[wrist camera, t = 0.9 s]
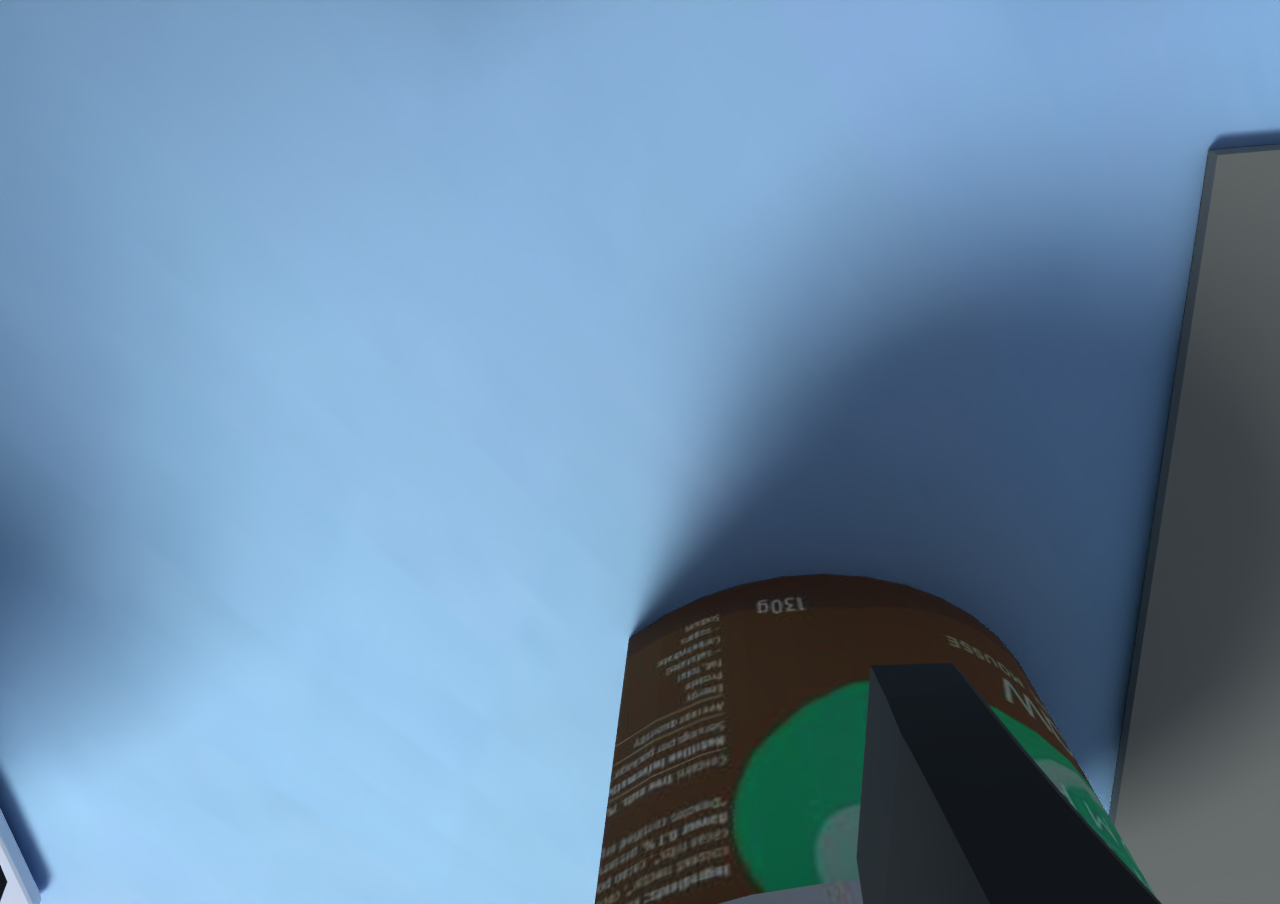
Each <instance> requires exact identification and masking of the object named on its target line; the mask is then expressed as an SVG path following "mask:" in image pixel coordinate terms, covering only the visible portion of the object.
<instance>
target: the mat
mask: <svg viewBox="0 0 1280 904" xmlns="http://www.w3.org/2000/svg"><path fill="white" fill-rule="evenodd" d="M1109 818H1110V820H1111V821H1112V823H1113V825H1114V826H1115V828H1116V830H1117V832H1118V833H1119V835H1120V837H1121V838H1122V840H1123V842H1124V844H1125V845H1126V847H1127V849H1128V850H1129V852H1130V854H1131V855H1132V857H1133V859H1134V861H1135V862H1136V864H1137V866H1138V867H1139V869H1140V871H1141V873H1142V874H1143V876H1144V878H1145V879H1146V881H1147V883H1148V884H1149V886H1150V888H1151V890H1152V891H1153V893H1154V895H1155V896H1156V898H1157V899H1158V900H1159V901H1160V902H1161V903H1162V904H1280V144H1273V145H1261V146H1249V147H1237V148H1225V149H1213V150H1209V151H1208V158H1207V165H1206V171H1205V178H1204V185H1203V191H1202V198H1201V205H1200V211H1199V218H1198V225H1197V232H1196V238H1195V245H1194V252H1193V258H1192V265H1191V272H1190V278H1189V285H1188V292H1187V298H1186V305H1185V312H1184V318H1183V325H1182V332H1181V338H1180V345H1179V352H1178V358H1177V365H1176V372H1175V378H1174V385H1173V392H1172V398H1171V405H1170V412H1169V419H1168V425H1167V432H1166V439H1165V445H1164V452H1163V459H1162V465H1161V472H1160V479H1159V485H1158V492H1157V499H1156V505H1155V512H1154V519H1153V525H1152V532H1151V539H1150V545H1149V552H1148V559H1147V565H1146V572H1145V579H1144V586H1143V592H1142V599H1141V606H1140V612H1139V619H1138V626H1137V632H1136V639H1135V646H1134V652H1133V659H1132V666H1131V672H1130V679H1129V686H1128V692H1127V699H1126V706H1125V712H1124V719H1123V726H1122V732H1121V739H1120V746H1119V753H1118V759H1117V766H1116V773H1115V779H1114V786H1113V793H1112V799H1111V806H1110V813H1109Z"/></svg>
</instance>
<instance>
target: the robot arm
mask: <svg viewBox="0 0 1280 904" xmlns="http://www.w3.org/2000/svg"><path fill="white" fill-rule="evenodd" d="M856 859H857V865H858V872H859V879H860V886H861V893H862V899H863V904H1162V903H1161V902H1160V901H1159V900H1158V899H1157V898H1156V897H1155V896H1154V895H1153V894H1152V893H1151V891H1150V890H1149V889H1148V888H1147V887H1146V886H1145V885H1144V884H1143V883H1142V882H1141V881H1140V879H1139V878H1138V877H1137V876H1136V875H1135V874H1134V873H1133V872H1132V871H1131V870H1130V869H1129V867H1128V866H1127V865H1126V864H1125V863H1124V862H1123V861H1122V860H1121V859H1120V858H1119V857H1118V855H1117V854H1116V853H1115V852H1114V851H1113V850H1112V849H1111V848H1110V847H1109V846H1108V845H1107V844H1106V842H1105V841H1104V840H1103V839H1102V838H1101V837H1100V836H1099V835H1098V834H1097V833H1096V832H1095V830H1094V829H1093V828H1092V827H1091V826H1090V825H1089V824H1088V823H1087V821H1086V820H1085V819H1084V818H1083V817H1082V816H1081V815H1080V813H1079V812H1078V811H1077V810H1076V809H1075V808H1074V807H1073V806H1072V804H1071V803H1070V802H1069V801H1068V800H1067V799H1066V798H1065V796H1064V795H1063V794H1062V793H1061V792H1060V791H1059V789H1058V788H1057V787H1056V786H1055V785H1054V783H1053V782H1052V781H1051V780H1050V779H1049V778H1048V776H1047V775H1046V774H1045V773H1044V772H1043V771H1042V769H1041V768H1040V767H1039V766H1038V765H1037V763H1036V762H1035V761H1034V760H1033V759H1032V758H1031V756H1030V755H1029V754H1028V753H1027V752H1026V750H1025V749H1024V748H1023V747H1022V746H1021V744H1020V743H1019V742H1018V741H1017V739H1016V738H1015V737H1014V736H1013V735H1012V733H1011V732H1010V731H1009V730H1008V729H1007V727H1006V726H1005V725H1004V724H1003V722H1002V721H1001V720H1000V719H999V717H998V716H997V715H996V714H995V713H994V711H993V710H992V709H991V708H990V706H989V705H988V704H987V703H986V701H985V700H984V699H983V698H982V696H981V695H980V694H979V693H978V691H977V690H976V689H975V688H974V686H973V685H972V684H971V683H970V681H969V680H968V679H967V678H966V676H965V675H964V674H963V673H962V672H961V671H960V670H959V669H958V668H956V667H955V666H954V665H953V664H952V663H935V664H902V665H871V667H870V681H869V694H868V708H867V722H866V735H865V749H864V762H863V776H862V790H861V803H860V817H859V830H858V844H857V857H856ZM40 901H41V896H40V892H39V890H38V888H37V886H36V883H35V881H34V879H33V877H32V875H31V873H30V871H29V869H28V866H27V864H26V862H25V860H24V858H23V856H22V854H21V852H20V849H19V847H18V845H17V843H16V841H15V839H14V837H13V834H12V832H11V830H10V828H9V826H8V824H7V822H6V820H5V817H4V815H3V813H2V811H1V809H0V904H39V903H40Z"/></svg>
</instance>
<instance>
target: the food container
mask: <svg viewBox="0 0 1280 904" xmlns="http://www.w3.org/2000/svg"><path fill="white" fill-rule="evenodd" d="M935 663H952V664H953V665H954V666H955V667H956V668H958V669H959V670H960V671H961V672H962V673H963V674H964V675H965V676H966V678H967V679H968V680H969V681H970V683H971V684H972V685H973V686H974V688H975V689H976V690H977V691H978V693H979V694H980V695H981V696H982V698H983V699H984V700H985V701H986V703H987V704H988V705H989V706H990V708H991V709H992V710H993V711H994V713H995V714H996V715H997V716H998V717H999V719H1000V720H1001V721H1002V722H1003V724H1004V725H1005V726H1006V727H1007V729H1008V730H1009V731H1010V732H1011V733H1012V735H1013V736H1014V737H1015V738H1016V739H1017V741H1018V742H1019V743H1020V744H1021V746H1022V747H1023V748H1024V749H1025V750H1026V752H1027V753H1028V754H1029V755H1030V756H1031V758H1032V759H1033V760H1034V761H1035V762H1036V763H1037V765H1038V766H1039V767H1040V768H1041V769H1042V771H1043V772H1044V773H1045V774H1046V775H1047V776H1048V778H1049V779H1050V780H1051V781H1052V782H1053V783H1054V785H1055V786H1056V787H1057V788H1058V789H1059V791H1060V792H1061V793H1062V794H1063V795H1064V796H1065V798H1066V799H1067V800H1068V801H1069V802H1070V803H1071V804H1072V806H1073V807H1074V808H1075V809H1076V810H1077V811H1078V812H1079V813H1080V815H1081V816H1082V817H1083V818H1084V819H1085V820H1086V821H1087V823H1088V824H1089V825H1090V826H1091V827H1092V828H1093V829H1094V830H1095V832H1096V833H1097V834H1098V835H1099V836H1100V837H1101V838H1102V839H1103V840H1104V841H1105V842H1106V844H1107V845H1108V846H1109V847H1110V848H1111V849H1112V850H1113V851H1114V852H1115V853H1116V854H1117V855H1118V857H1119V858H1120V859H1121V860H1122V861H1123V862H1124V863H1125V864H1126V865H1127V866H1128V867H1129V869H1130V870H1131V871H1132V872H1133V873H1134V874H1135V875H1136V876H1137V877H1138V878H1139V879H1140V881H1141V882H1142V883H1143V884H1144V885H1145V886H1146V887H1147V888H1148V889H1149V890H1150V891H1151V893H1152V894H1153V895H1154V893H1153V891H1152V890H1151V888H1150V886H1149V884H1148V883H1147V881H1146V879H1145V878H1144V876H1143V874H1142V873H1141V871H1140V869H1139V867H1138V866H1137V864H1136V862H1135V861H1134V859H1133V857H1132V855H1131V854H1130V852H1129V850H1128V849H1127V847H1126V845H1125V844H1124V842H1123V840H1122V838H1121V837H1120V835H1119V833H1118V832H1117V830H1116V828H1115V826H1114V825H1113V823H1112V821H1111V820H1110V818H1109V816H1108V815H1107V813H1106V811H1105V809H1104V808H1103V806H1102V804H1101V803H1100V801H1099V799H1098V797H1097V796H1096V794H1095V792H1094V791H1093V789H1092V787H1091V785H1090V784H1089V782H1088V780H1087V779H1086V777H1085V775H1084V774H1083V772H1082V770H1081V768H1080V767H1079V765H1078V763H1077V762H1076V760H1075V758H1074V756H1073V755H1072V753H1071V751H1070V750H1069V748H1068V746H1067V745H1066V743H1065V741H1064V739H1063V738H1062V736H1061V734H1060V733H1059V731H1058V729H1057V727H1056V726H1055V724H1054V722H1053V721H1052V719H1051V717H1050V716H1049V714H1048V712H1047V710H1046V709H1045V707H1044V705H1043V704H1042V702H1041V700H1040V698H1039V697H1038V695H1037V693H1036V692H1035V690H1034V688H1033V687H1032V685H1031V683H1030V681H1029V680H1028V678H1027V676H1026V675H1025V673H1024V671H1023V669H1022V668H1021V666H1020V664H1019V663H1018V661H1017V660H1016V659H1015V657H1014V656H1013V655H1012V654H1011V652H1010V651H1009V650H1008V649H1007V648H1006V646H1005V645H1004V644H1003V643H1002V641H1001V640H1000V639H999V638H998V637H997V636H996V635H995V634H994V633H992V632H991V631H990V630H989V629H988V628H986V627H985V626H984V625H983V624H982V623H980V622H979V621H978V620H977V619H976V618H974V617H973V616H972V615H970V614H968V613H967V612H965V611H963V610H961V609H959V608H958V607H956V606H954V605H952V604H951V603H949V602H947V601H945V600H943V599H942V598H939V597H937V596H934V595H931V594H928V593H926V592H923V591H920V590H918V589H915V588H912V587H909V586H907V585H903V584H898V583H893V582H889V581H884V580H879V579H874V578H869V577H861V576H846V575H831V574H818V575H802V576H786V577H779V578H774V579H768V580H763V581H758V582H753V583H747V584H742V585H739V586H736V587H733V588H729V589H726V590H723V591H720V592H717V593H714V594H711V595H708V596H705V597H702V598H700V599H698V600H695V601H693V602H691V603H689V604H687V605H685V606H683V607H681V608H679V609H677V610H674V611H672V612H670V613H668V614H666V615H664V616H663V617H661V618H660V619H658V620H657V621H655V622H654V623H652V624H651V625H649V626H648V627H646V628H645V629H643V630H642V631H640V632H638V633H637V634H635V635H634V636H632V637H631V638H629V643H628V650H627V658H626V666H625V674H624V681H623V689H622V697H621V704H620V712H619V720H618V728H617V735H616V743H615V751H614V759H613V766H612V774H611V782H610V790H609V797H608V805H607V813H606V821H605V828H604V836H603V844H602V852H601V859H600V867H599V875H598V882H597V890H596V898H595V904H863V899H862V893H861V886H860V879H859V872H858V865H857V859H856V857H857V844H858V830H859V817H860V803H861V790H862V776H863V762H864V749H865V735H866V722H867V708H868V694H869V681H870V667H871V665H902V664H935ZM1154 896H1155V895H1154ZM1155 897H1156V896H1155Z"/></svg>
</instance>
